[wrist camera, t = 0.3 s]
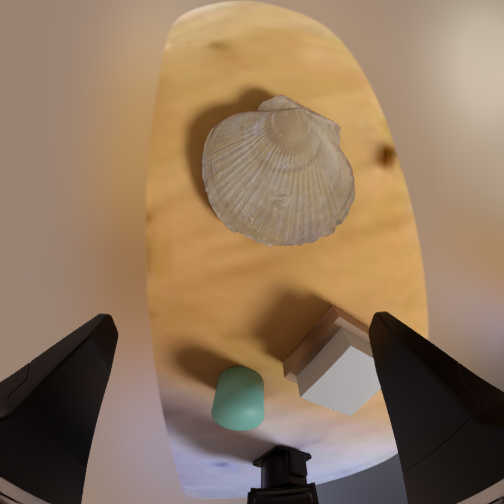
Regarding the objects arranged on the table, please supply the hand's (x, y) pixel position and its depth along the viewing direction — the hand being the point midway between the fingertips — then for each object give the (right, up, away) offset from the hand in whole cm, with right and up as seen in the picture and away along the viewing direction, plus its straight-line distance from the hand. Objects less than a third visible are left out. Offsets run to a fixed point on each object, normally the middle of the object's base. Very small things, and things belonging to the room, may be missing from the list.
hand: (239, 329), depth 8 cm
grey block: (+9, -9, +15) cm, 19 cm away
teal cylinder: (-1, -12, +19) cm, 22 cm away
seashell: (+3, +9, +14) cm, 17 cm away
